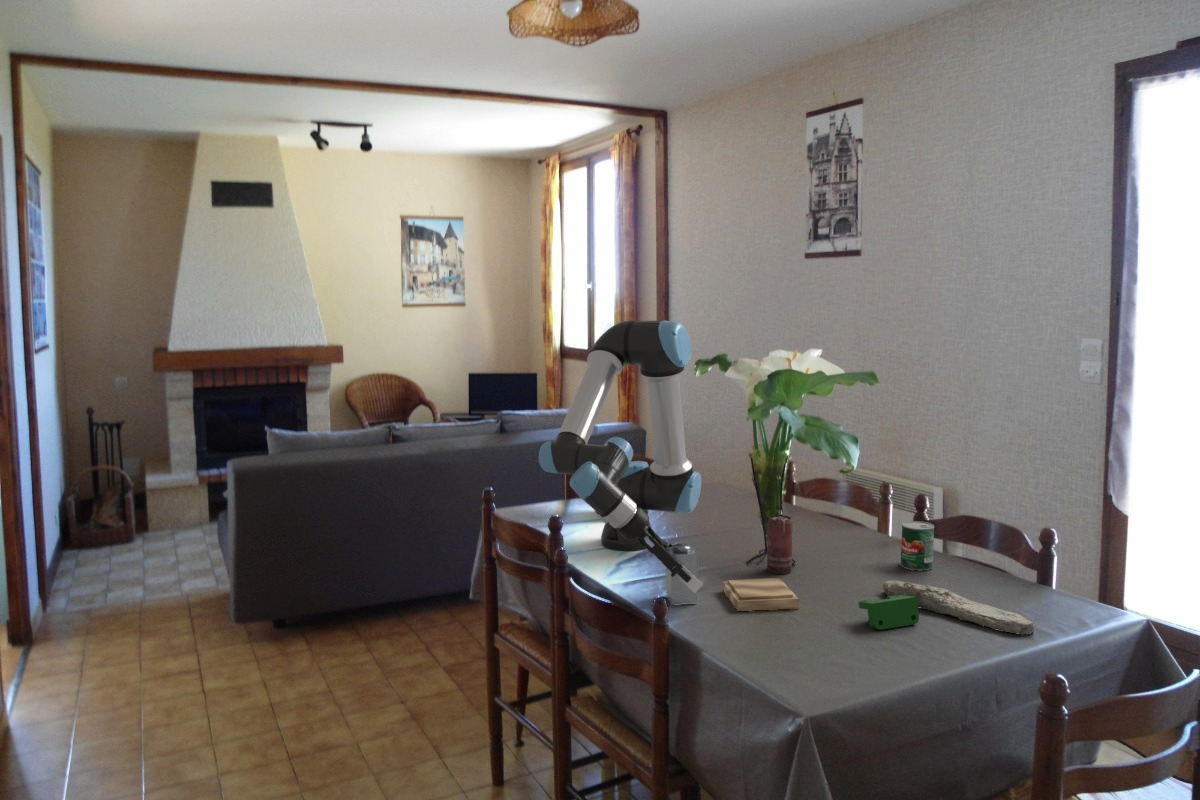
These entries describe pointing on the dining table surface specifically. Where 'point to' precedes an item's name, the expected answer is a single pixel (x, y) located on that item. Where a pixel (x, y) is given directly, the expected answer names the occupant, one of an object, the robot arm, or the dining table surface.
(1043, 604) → the dining table surface
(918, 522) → the canned tomato
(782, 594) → the stand
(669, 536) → the dining table surface
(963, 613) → the elongated rock
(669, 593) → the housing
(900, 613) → the green plastic block
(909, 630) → the dining table surface
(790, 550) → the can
